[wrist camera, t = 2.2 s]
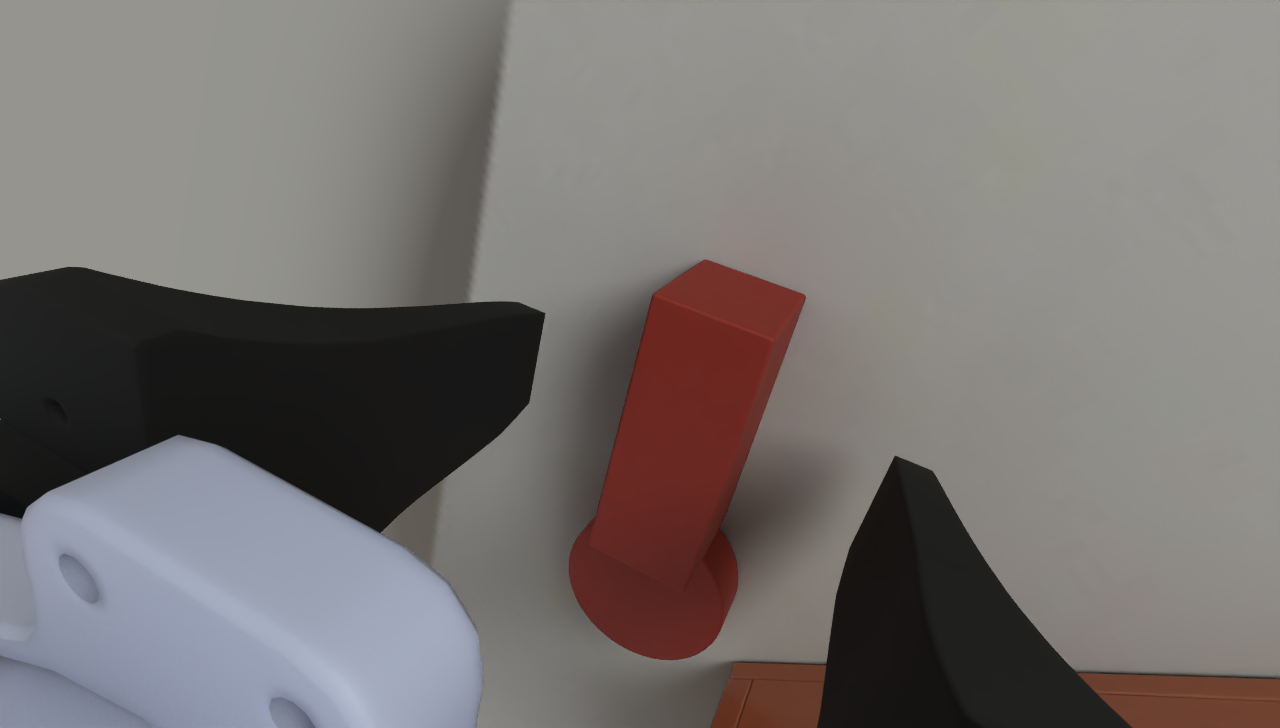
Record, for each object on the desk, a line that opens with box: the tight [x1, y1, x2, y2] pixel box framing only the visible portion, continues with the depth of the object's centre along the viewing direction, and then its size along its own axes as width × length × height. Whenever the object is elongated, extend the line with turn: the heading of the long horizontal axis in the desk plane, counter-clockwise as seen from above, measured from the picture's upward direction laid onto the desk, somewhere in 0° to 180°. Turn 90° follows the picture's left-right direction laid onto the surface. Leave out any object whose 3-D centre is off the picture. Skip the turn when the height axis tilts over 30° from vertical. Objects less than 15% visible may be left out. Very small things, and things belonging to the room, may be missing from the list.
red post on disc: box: [569, 260, 806, 660], centre depth 13 cm, size 9×4×3 cm, turn 166°
